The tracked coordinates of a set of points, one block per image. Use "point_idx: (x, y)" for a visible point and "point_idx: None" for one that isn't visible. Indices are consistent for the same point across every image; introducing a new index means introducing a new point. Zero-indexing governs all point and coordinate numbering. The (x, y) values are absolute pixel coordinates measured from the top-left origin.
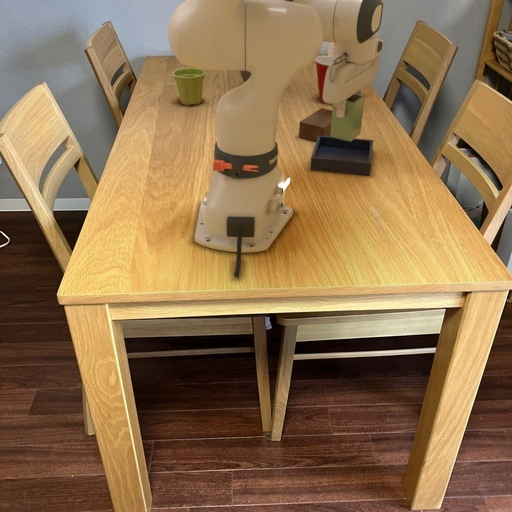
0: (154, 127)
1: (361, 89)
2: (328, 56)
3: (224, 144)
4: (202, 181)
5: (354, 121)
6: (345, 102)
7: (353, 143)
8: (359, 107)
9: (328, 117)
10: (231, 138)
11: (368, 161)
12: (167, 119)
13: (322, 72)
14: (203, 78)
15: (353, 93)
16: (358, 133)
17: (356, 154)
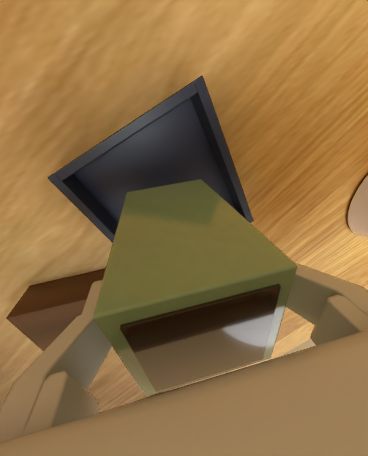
0: (234, 369)
1: (44, 408)
2: None
3: None
4: (329, 274)
5: (211, 205)
6: (339, 298)
7: (101, 213)
8: (179, 247)
9: (69, 317)
10: None
11: (194, 93)
12: (211, 377)
13: None
14: None
15: (334, 367)
16: (144, 191)
17: (122, 183)
